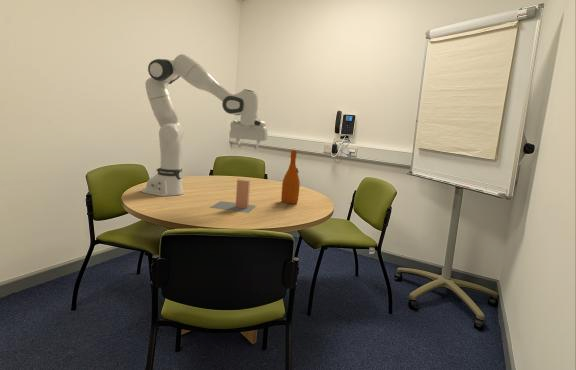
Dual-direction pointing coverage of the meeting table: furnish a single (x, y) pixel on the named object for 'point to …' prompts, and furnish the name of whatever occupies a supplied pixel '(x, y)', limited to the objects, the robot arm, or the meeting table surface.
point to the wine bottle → (291, 182)
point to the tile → (242, 193)
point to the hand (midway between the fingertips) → (247, 148)
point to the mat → (232, 207)
